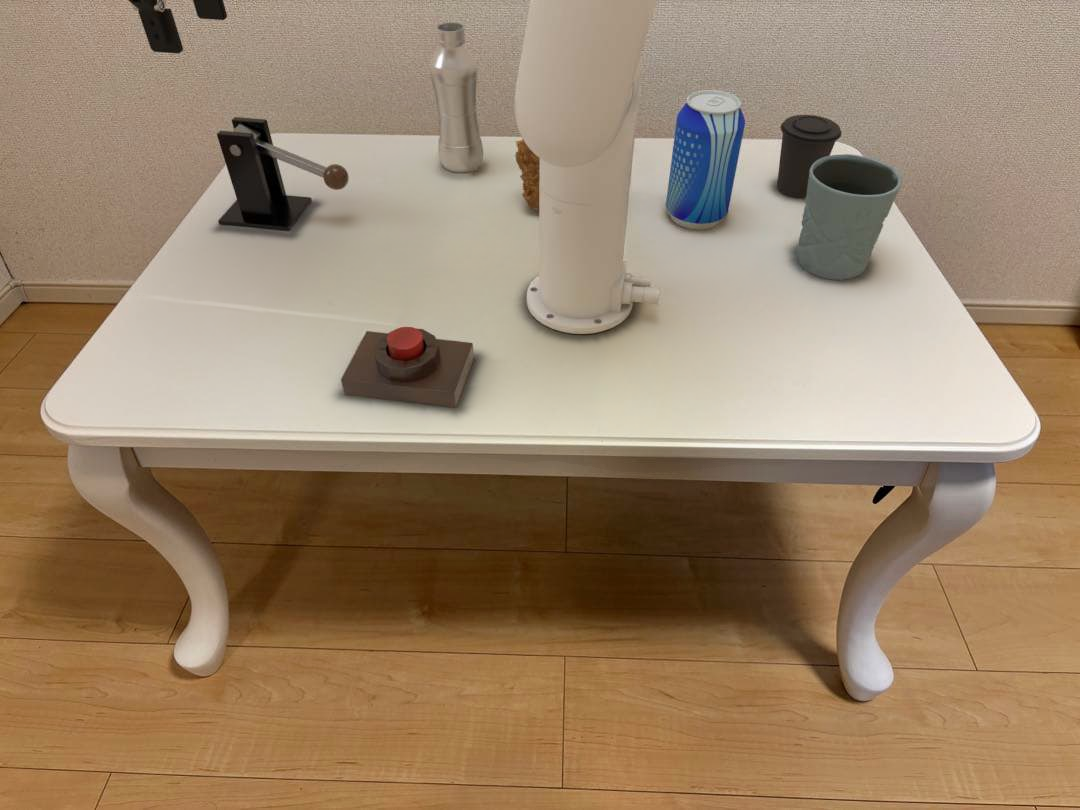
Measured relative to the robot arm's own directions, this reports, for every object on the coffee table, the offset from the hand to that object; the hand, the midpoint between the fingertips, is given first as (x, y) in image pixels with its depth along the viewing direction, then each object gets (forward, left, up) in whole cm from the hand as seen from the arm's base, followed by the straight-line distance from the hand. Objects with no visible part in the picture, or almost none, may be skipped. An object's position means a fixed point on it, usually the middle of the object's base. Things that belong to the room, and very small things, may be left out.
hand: (191, 34), depth 80 cm
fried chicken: (-37, -19, -27) cm, 50 cm away
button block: (-26, +19, -27) cm, 42 cm away
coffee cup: (-69, -29, -27) cm, 80 cm away
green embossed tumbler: (-72, -11, -27) cm, 78 cm away
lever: (-2, -9, -19) cm, 21 cm away
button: (-26, +19, -23) cm, 40 cm away
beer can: (-55, -19, -27) cm, 64 cm away
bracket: (+3, -9, -27) cm, 28 cm away
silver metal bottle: (-20, -27, -27) cm, 43 cm away
